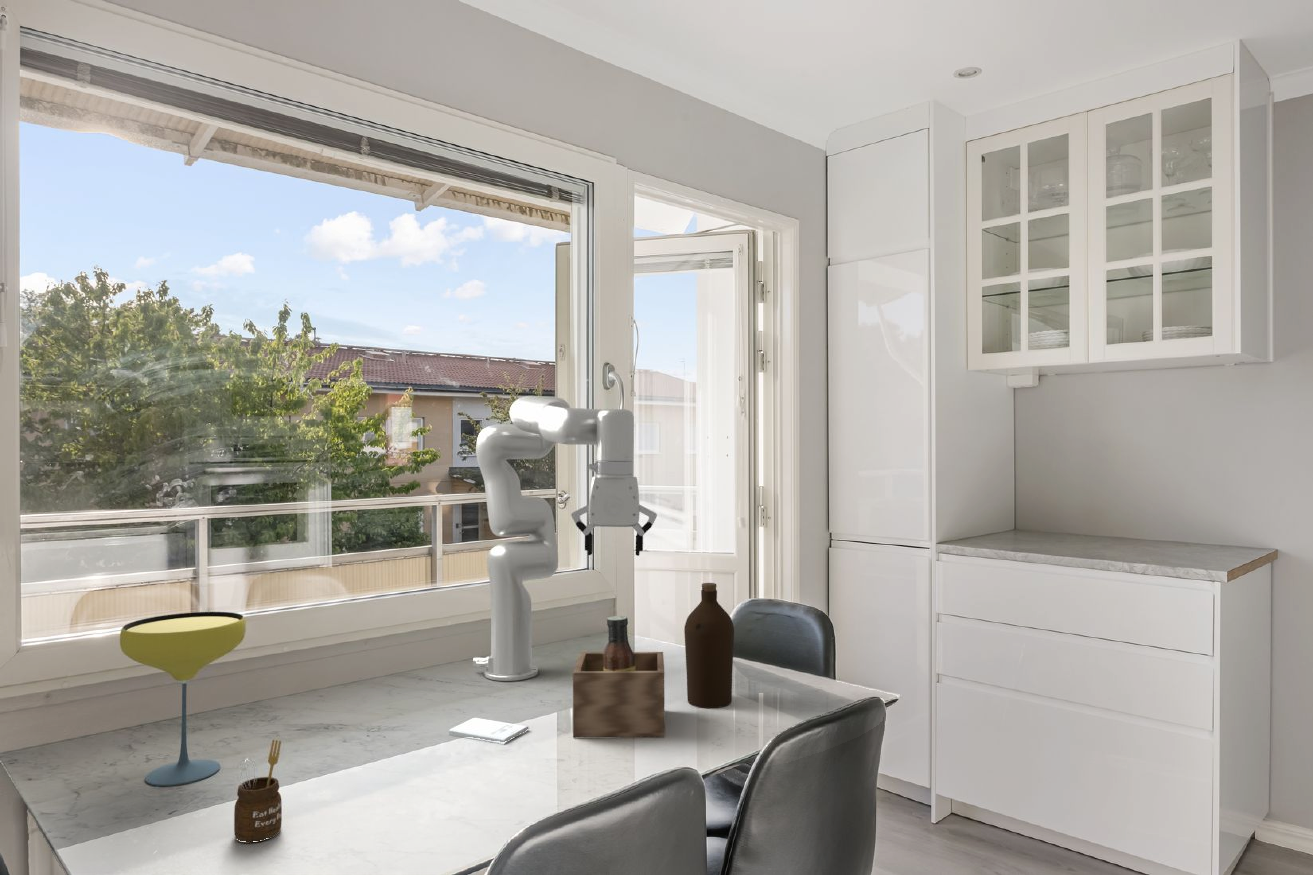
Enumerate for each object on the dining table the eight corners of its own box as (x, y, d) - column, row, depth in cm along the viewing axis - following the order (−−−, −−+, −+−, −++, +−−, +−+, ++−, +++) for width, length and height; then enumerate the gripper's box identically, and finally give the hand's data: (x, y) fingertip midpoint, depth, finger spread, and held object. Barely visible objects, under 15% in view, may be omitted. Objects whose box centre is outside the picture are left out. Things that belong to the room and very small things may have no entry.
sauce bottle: (641, 715, 162) (641, 615, 162) (630, 725, 156) (629, 621, 156) (611, 712, 164) (610, 613, 164) (598, 722, 158) (598, 619, 158)
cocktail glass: (164, 752, 144) (166, 611, 145) (265, 753, 144) (266, 611, 144) (90, 795, 126) (92, 633, 127) (205, 796, 126) (206, 633, 126)
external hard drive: (475, 725, 161) (528, 733, 156) (448, 738, 153) (503, 747, 148) (475, 716, 161) (528, 724, 156) (448, 729, 153) (503, 738, 148)
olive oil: (736, 709, 168) (736, 587, 169) (685, 709, 168) (684, 587, 169) (732, 694, 179) (731, 579, 179) (684, 694, 179) (683, 580, 180)
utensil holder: (223, 840, 111) (224, 752, 112) (260, 821, 117) (261, 737, 118) (256, 847, 109) (257, 757, 110) (292, 827, 115) (293, 742, 115)
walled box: (573, 737, 152) (573, 672, 152) (580, 710, 168) (580, 652, 168) (664, 737, 152) (664, 672, 152) (663, 710, 168) (663, 651, 168)
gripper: (570, 470, 161) (569, 556, 161) (657, 471, 161) (656, 557, 161) (574, 469, 169) (573, 551, 169) (657, 469, 169) (656, 552, 169)
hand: (613, 554), depth 165 cm, fingers open, 9 cm apart
